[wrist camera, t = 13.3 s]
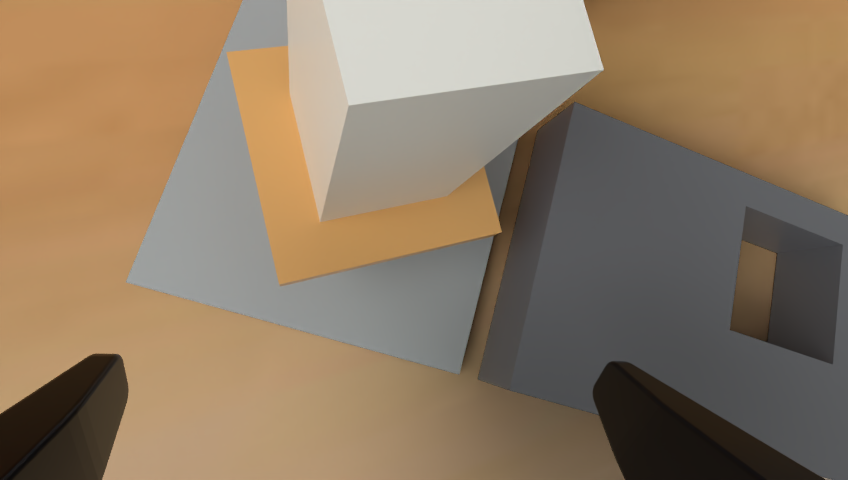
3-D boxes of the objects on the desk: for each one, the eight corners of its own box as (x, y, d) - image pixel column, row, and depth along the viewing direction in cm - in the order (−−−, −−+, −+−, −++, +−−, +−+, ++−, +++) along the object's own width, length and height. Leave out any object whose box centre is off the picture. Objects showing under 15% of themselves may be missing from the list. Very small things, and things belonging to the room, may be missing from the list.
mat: (454, 372, 19) (459, 374, 18) (131, 283, 17) (125, 282, 16) (522, 102, 22) (528, 96, 21) (251, -8, 19) (250, -18, 19)
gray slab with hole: (796, 467, 22) (869, 489, 19) (477, 379, 19) (509, 390, 16) (818, 241, 25) (886, 231, 22) (537, 130, 22) (574, 101, 19)
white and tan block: (463, 248, 19) (709, 146, 8) (282, 291, 17) (255, 240, 6) (419, 82, 20) (587, -240, 8) (240, 105, 18) (140, -271, 6)
